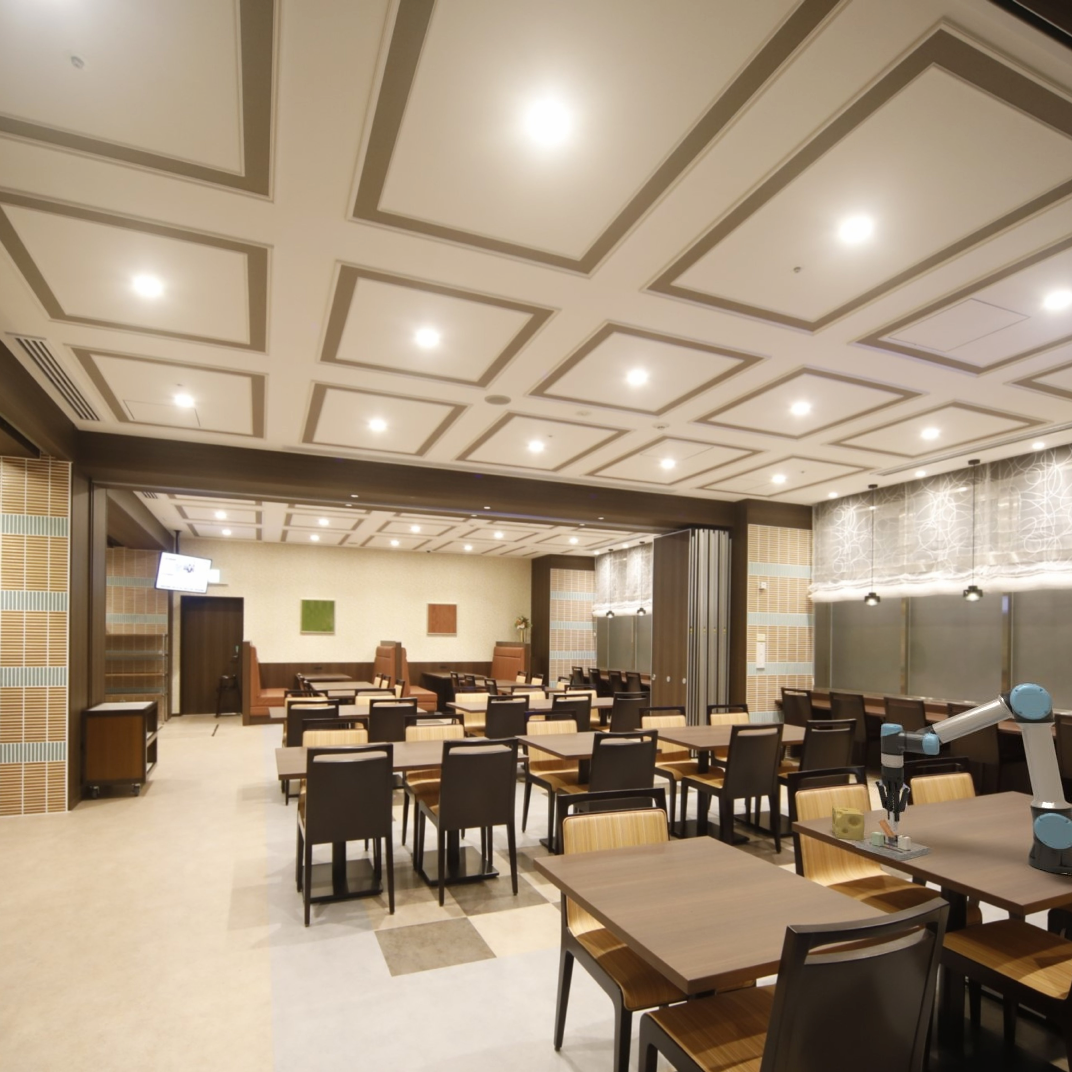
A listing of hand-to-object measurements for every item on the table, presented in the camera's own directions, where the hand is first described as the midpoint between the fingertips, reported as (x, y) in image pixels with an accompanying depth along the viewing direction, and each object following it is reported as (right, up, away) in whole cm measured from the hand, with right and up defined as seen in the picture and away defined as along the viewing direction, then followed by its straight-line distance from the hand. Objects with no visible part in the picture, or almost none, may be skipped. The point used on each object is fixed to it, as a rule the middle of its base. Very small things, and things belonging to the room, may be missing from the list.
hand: (893, 829), depth 263 cm
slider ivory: (-1, -3, -10) cm, 10 cm away
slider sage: (-9, -3, -7) cm, 12 cm away
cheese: (-13, -7, +10) cm, 18 cm away
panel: (-3, -5, -5) cm, 8 cm away
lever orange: (0, -4, -1) cm, 4 cm away
